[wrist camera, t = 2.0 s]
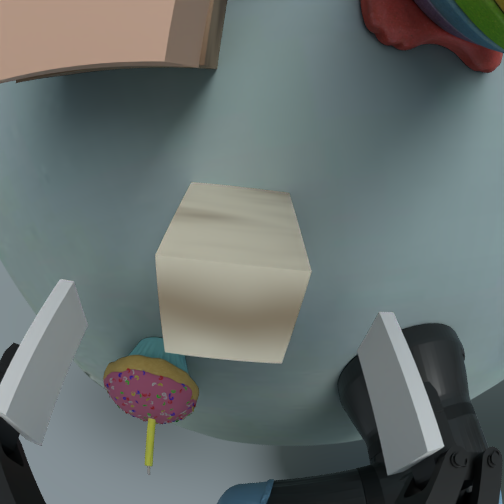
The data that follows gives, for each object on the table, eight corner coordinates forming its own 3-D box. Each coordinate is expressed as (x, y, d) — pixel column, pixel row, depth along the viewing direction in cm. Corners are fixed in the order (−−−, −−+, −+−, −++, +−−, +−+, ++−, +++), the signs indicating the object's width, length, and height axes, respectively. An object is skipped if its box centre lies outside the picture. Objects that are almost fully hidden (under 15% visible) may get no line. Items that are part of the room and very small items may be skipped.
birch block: (273, 271, 21) (281, 363, 15) (189, 262, 21) (164, 352, 14) (289, 192, 18) (311, 271, 11) (191, 181, 18) (155, 255, 11)
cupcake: (216, 372, 28) (208, 484, 18) (146, 378, 30) (125, 476, 19) (178, 314, 24) (149, 452, 14) (102, 327, 25) (60, 438, 15)
